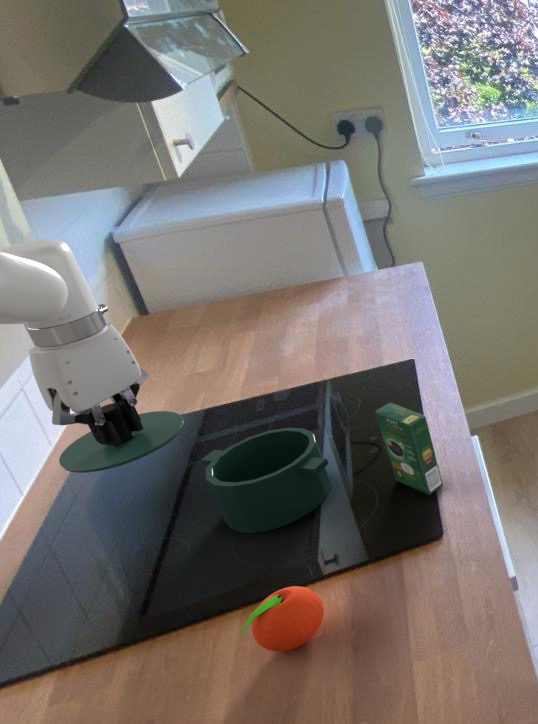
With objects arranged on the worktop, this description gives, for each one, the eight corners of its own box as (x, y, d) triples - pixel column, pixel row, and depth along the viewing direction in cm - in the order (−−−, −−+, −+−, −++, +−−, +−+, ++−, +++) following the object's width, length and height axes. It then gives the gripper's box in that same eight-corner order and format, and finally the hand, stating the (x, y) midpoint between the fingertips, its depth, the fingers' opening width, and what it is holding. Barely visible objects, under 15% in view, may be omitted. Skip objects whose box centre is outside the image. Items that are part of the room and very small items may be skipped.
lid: (120, 479, 102) (100, 441, 99) (35, 472, 104) (13, 434, 101) (209, 419, 115) (193, 384, 112) (131, 414, 117) (114, 378, 114)
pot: (302, 538, 102) (283, 490, 99) (186, 527, 105) (164, 480, 101) (366, 476, 114) (351, 431, 111) (260, 467, 117) (243, 424, 113)
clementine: (265, 683, 82) (244, 638, 79) (242, 651, 86) (221, 607, 83) (341, 633, 88) (323, 589, 85) (316, 605, 91) (299, 563, 88)
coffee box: (446, 485, 112) (426, 413, 106) (430, 497, 109) (408, 424, 104) (411, 470, 115) (390, 400, 110) (395, 481, 113) (372, 410, 107)
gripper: (103, 300, 109) (151, 404, 116) (-23, 356, 94) (42, 470, 102) (146, 302, 108) (192, 407, 115) (26, 359, 93) (88, 474, 101)
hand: (121, 435), depth 109 cm, fingers closed on lid, 2 cm apart
